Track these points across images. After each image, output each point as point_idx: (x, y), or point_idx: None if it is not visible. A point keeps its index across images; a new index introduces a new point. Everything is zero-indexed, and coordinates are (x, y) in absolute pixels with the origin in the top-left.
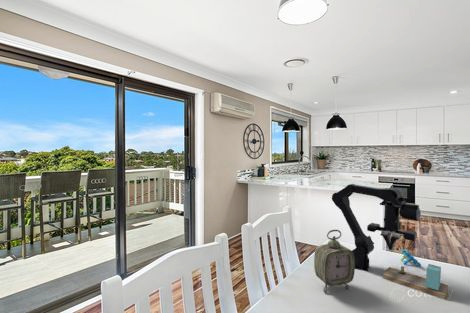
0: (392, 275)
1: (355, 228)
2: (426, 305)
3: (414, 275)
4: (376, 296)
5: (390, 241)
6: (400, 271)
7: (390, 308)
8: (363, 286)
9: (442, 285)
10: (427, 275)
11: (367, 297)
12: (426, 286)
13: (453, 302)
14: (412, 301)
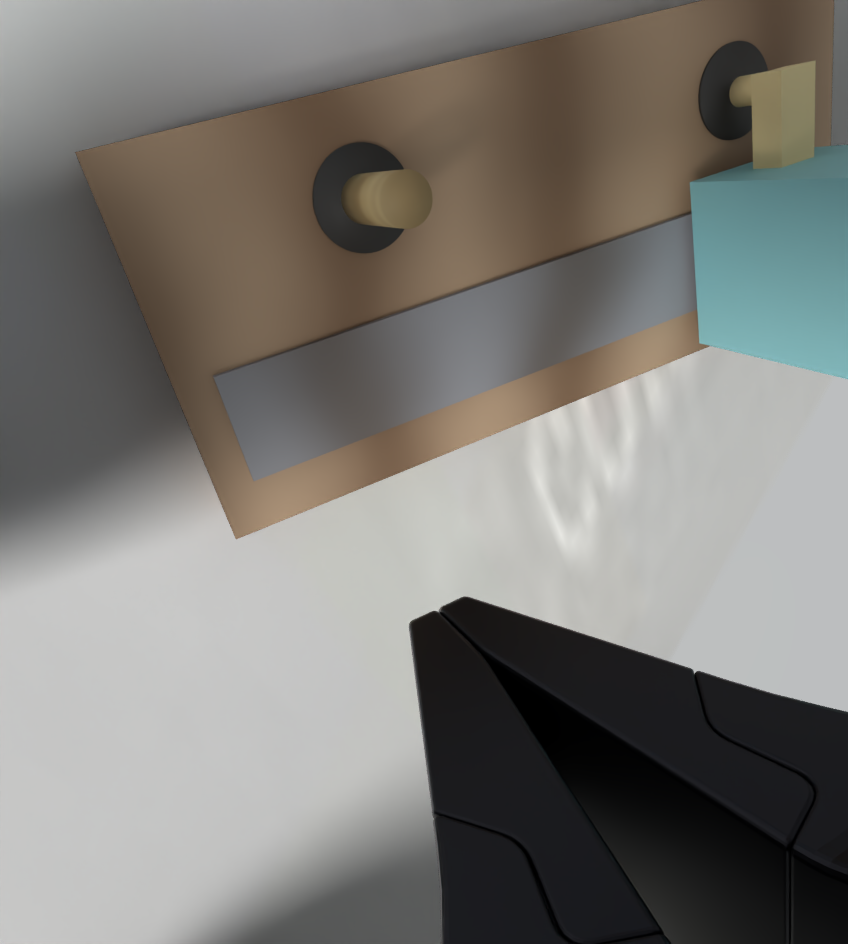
0: (340, 448)
1: None
2: (703, 547)
3: (500, 91)
4: (431, 839)
5: (571, 814)
6: (310, 157)
7: None
8: (259, 857)
9: (790, 61)
10: (841, 372)
11: (402, 916)
12: (706, 340)
13: None
14: (624, 606)
